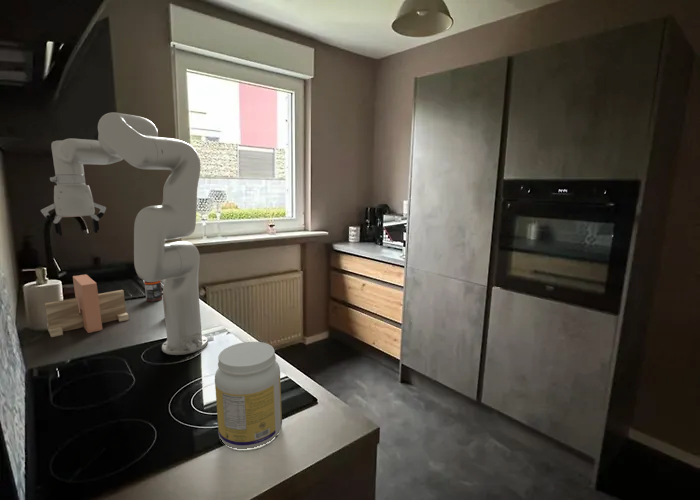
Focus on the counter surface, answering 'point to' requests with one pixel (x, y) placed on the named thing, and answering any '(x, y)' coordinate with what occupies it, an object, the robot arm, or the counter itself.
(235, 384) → the supplement tub
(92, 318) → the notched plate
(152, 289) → the supplement bottle
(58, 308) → the slotted stand
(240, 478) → the counter surface
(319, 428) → the counter surface
